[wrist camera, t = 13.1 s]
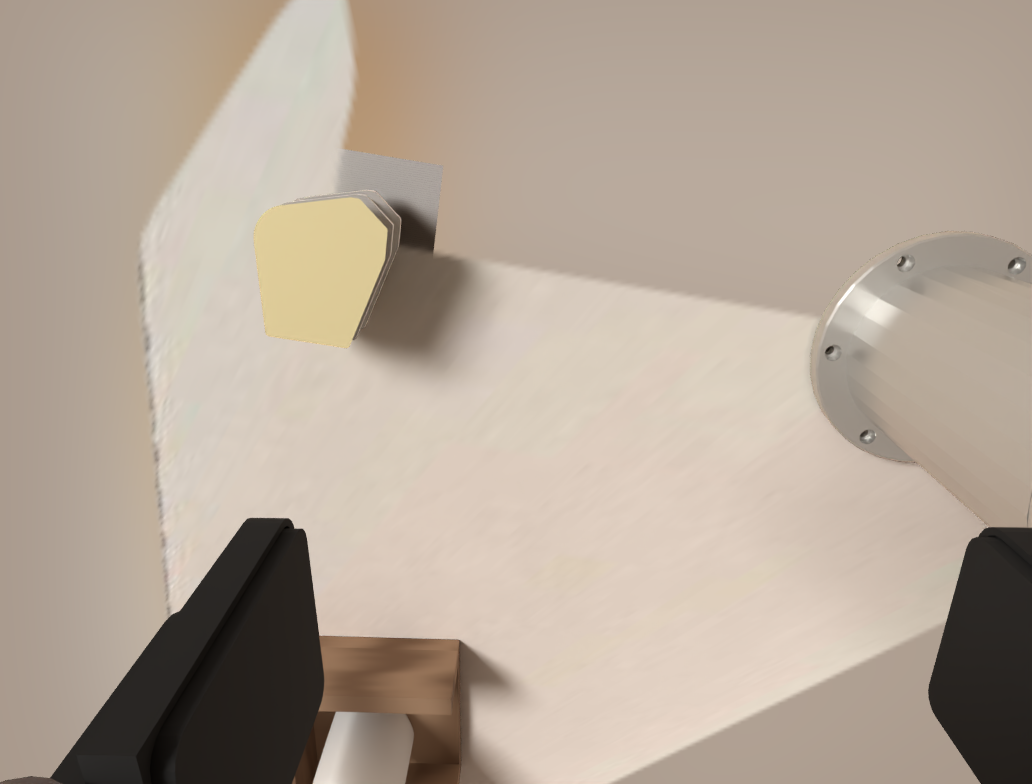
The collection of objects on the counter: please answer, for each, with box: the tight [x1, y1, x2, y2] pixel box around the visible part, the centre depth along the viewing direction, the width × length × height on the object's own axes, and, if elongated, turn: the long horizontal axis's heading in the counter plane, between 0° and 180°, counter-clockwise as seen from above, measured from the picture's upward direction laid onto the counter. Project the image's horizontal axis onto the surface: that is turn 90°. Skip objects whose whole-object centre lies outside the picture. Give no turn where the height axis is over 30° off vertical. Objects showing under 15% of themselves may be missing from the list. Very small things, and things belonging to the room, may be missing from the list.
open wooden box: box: [292, 636, 461, 784], centre depth 45 cm, size 11×11×5 cm
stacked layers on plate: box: [254, 149, 443, 348], centre depth 34 cm, size 10×9×6 cm
